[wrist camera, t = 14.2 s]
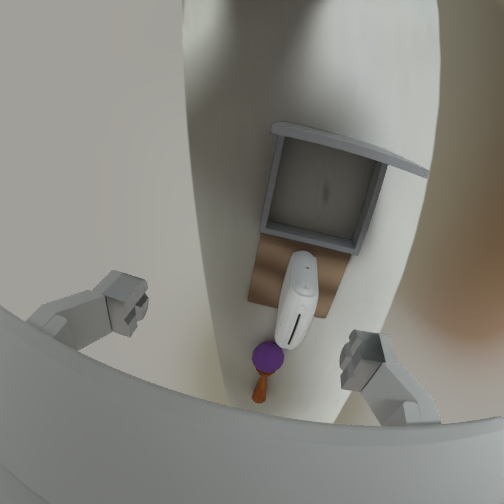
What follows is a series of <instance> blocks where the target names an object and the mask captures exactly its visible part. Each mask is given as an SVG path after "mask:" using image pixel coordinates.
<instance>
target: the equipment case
mask: <svg viewBox="0 0 504 504" xmlns="http://www.w3.org/2000/svg"><path fill="white" fill-rule="evenodd" d="M270 133H272V134H277V135H278V138H277V143H276V148H275V153H274V158H273V163H272V168H271V173H270V178H269V183H268V188H267V193H266V198H265V203H264V208H263V213H262V218H261V223H260V228H259V232H260V233H265V234H269V235H273V236H278V237H282V238H286V239H291V240H295V241H299V242H304V243H308V244H312V245H316V246H320V247H325V248H329V249H333V250H337V251H341V252H345V253H349V254H353V255H357V256H358V254H359V251H360V249H361V246H362V243H363V241H364V238H365V235H366V232H367V229H368V226H369V224H370V221H371V218H372V215H373V212H374V209H375V206H376V202H377V199H378V196H379V193H380V190H381V186H382V183H383V180H384V176H385V173H386V169H387V166H388V165H391V166H394V167H397V168H400V169H402V170H405V171H408V172H411V173H413V174H416V175H418V176H421V177H424V178H426V179H427V177H428V174H429V170H427V169H425V168H423V167H421V166H419V165H417V164H415V163H413V162H411V161H409V160H407V159H405V158H403V157H401V156H399V155H397V154H394V153H392V152H390V151H388V150H386V149H383V148H380V147H377V146H374V145H371V144H368V143H365V142H361V141H358V140H355V139H351V138H348V137H344V136H341V135H337V134H334V133H330V132H326V131H322V130H318V129H314V128H310V127H306V126H302V125H297V124H293V123H288V122H283V121H281V122H278V123H274V124H272V126H271V131H270ZM285 136H286V137H291V138H296V139H300V140H304V141H308V142H313V143H317V144H321V145H324V146H328V147H332V148H336V149H339V150H343V151H346V152H350V153H353V154H357V155H360V156H363V157H367V158H370V159H373V160H376V163H375V167H374V170H373V174H372V177H371V181H370V184H369V188H368V191H367V194H366V198H365V201H364V204H363V207H362V211H361V214H360V217H359V220H358V223H357V226H356V229H355V232H354V235H353V238H352V241H351V240H347V239H343V238H339V237H335V236H331V235H327V234H323V233H319V232H315V231H311V230H307V229H303V228H298V227H294V226H290V225H286V224H281V223H277V222H272V221H268V217H269V212H270V208H271V203H272V198H273V193H274V189H275V184H276V179H277V174H278V169H279V164H280V160H281V155H282V150H283V145H284V140H285Z"/></svg>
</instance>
